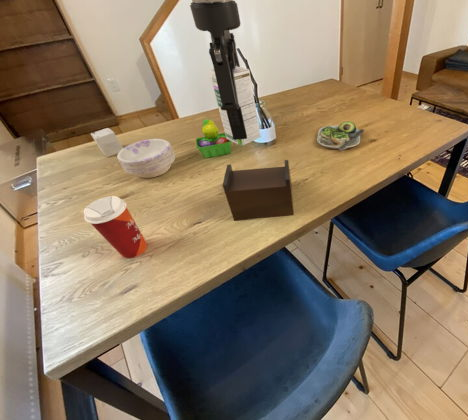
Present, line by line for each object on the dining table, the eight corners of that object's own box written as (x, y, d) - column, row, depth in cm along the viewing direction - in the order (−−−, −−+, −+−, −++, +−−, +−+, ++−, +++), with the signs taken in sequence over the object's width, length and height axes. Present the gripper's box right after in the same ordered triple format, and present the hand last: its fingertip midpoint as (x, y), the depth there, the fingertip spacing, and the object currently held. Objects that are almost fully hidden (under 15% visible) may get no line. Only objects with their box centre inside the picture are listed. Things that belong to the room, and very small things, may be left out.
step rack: (293, 215, 75) (289, 179, 67) (233, 220, 74) (222, 185, 66) (291, 182, 86) (287, 148, 78) (239, 186, 85) (229, 152, 76)
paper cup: (157, 248, 67) (128, 205, 57) (123, 267, 63) (86, 224, 53) (144, 232, 71) (116, 189, 61) (111, 249, 67) (75, 206, 57)
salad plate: (363, 155, 97) (364, 144, 94) (313, 153, 99) (312, 141, 96) (363, 130, 112) (364, 119, 108) (320, 128, 113) (319, 117, 110)
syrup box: (225, 139, 62) (206, 69, 52) (246, 129, 65) (232, 62, 55) (241, 147, 59) (224, 75, 49) (262, 137, 62) (250, 67, 53)
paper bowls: (154, 154, 99) (145, 134, 94) (188, 162, 95) (180, 141, 89) (117, 177, 89) (104, 156, 83) (153, 188, 84) (142, 166, 79)
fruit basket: (201, 161, 96) (190, 131, 88) (199, 149, 102) (189, 119, 94) (234, 154, 99) (226, 124, 91) (231, 143, 105) (223, 114, 97)
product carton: (125, 151, 101) (114, 132, 96) (107, 157, 98) (95, 138, 93) (119, 145, 104) (108, 127, 99) (101, 151, 101) (89, 133, 96)
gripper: (228, 7, 38) (257, 151, 53) (241, -7, 53) (260, 109, 69) (172, 9, 37) (217, 154, 53) (201, -6, 52) (230, 111, 68)
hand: (242, 128), depth 61 cm, fingers closed on syrup box, 8 cm apart
